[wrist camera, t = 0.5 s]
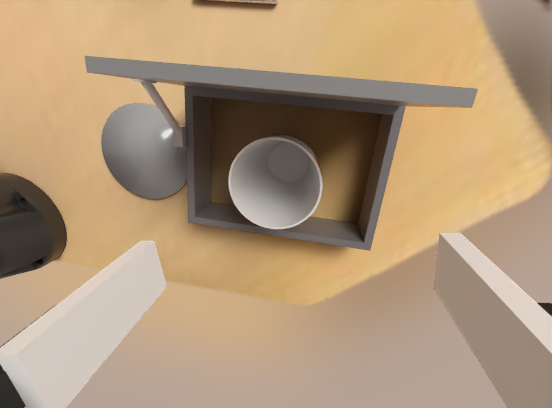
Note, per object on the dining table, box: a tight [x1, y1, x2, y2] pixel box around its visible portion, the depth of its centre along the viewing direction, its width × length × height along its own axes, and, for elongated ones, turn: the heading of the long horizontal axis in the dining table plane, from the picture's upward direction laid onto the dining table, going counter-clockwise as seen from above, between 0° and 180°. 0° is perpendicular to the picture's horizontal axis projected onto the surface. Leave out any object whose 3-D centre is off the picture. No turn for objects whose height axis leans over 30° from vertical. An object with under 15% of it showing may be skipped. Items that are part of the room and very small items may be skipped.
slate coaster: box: [102, 103, 187, 199], centre depth 34 cm, size 12×12×1 cm
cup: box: [228, 135, 323, 229], centre depth 28 cm, size 8×8×10 cm
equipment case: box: [85, 56, 478, 250], centre depth 24 cm, size 22×16×17 cm
